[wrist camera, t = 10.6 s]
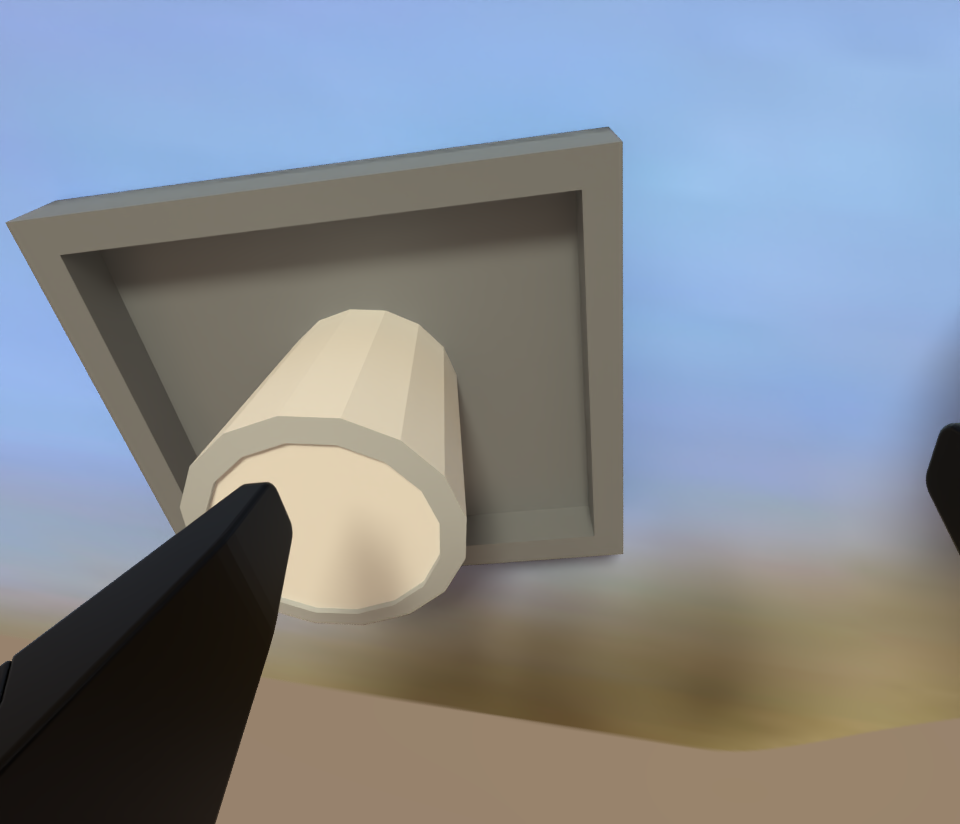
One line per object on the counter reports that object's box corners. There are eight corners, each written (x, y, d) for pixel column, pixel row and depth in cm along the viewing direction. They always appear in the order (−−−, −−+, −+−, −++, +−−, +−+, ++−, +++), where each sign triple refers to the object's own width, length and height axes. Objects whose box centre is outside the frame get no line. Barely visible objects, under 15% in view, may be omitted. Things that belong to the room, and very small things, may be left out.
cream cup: (498, 316, 19) (499, 453, 13) (453, 483, 23) (438, 647, 17) (274, 266, 18) (170, 388, 12) (265, 446, 22) (182, 605, 16)
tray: (608, 126, 17) (622, 141, 15) (613, 512, 24) (623, 553, 22) (55, 200, 18) (5, 222, 16) (224, 543, 26) (203, 584, 24)
